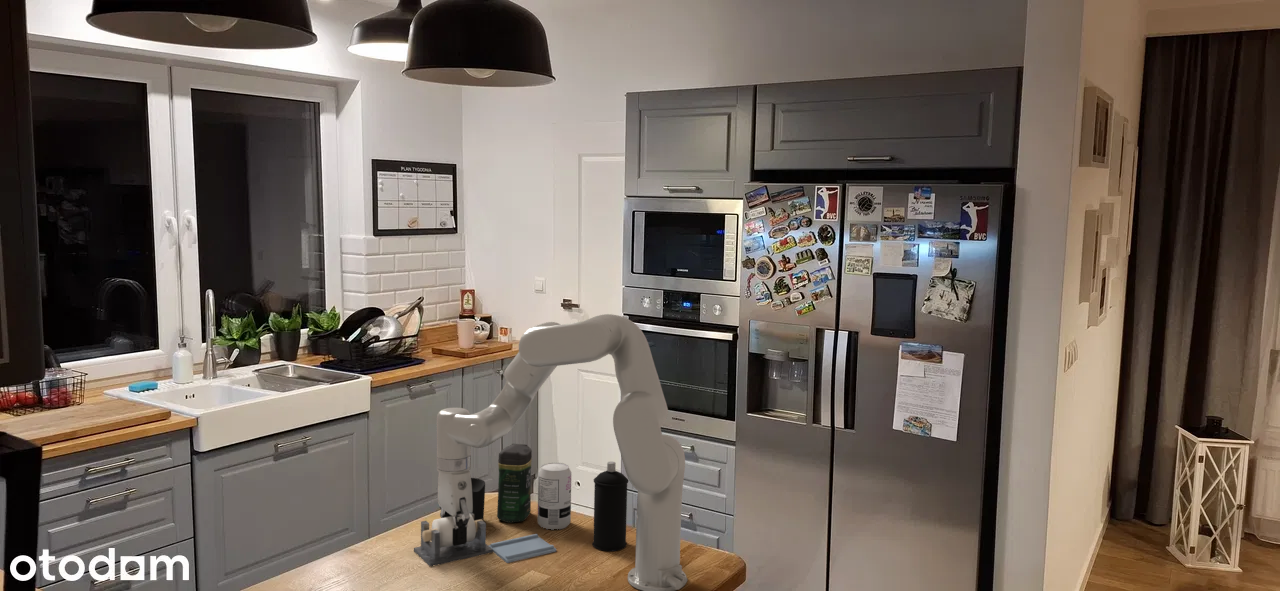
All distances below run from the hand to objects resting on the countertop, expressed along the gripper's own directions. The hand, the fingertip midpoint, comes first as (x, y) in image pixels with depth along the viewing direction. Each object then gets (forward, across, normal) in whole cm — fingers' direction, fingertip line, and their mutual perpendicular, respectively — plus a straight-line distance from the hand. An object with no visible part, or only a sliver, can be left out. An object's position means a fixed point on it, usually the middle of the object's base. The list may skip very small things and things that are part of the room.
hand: (453, 538), depth 197 cm
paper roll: (-2, 0, 0) cm, 2 cm away
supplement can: (+3, +3, -28) cm, 28 cm away
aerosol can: (+3, -15, -33) cm, 36 cm away
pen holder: (+3, +16, -10) cm, 19 cm away
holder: (+3, 0, 0) cm, 3 cm away
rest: (+3, -7, -14) cm, 16 cm away
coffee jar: (+3, +13, -22) cm, 26 cm away
